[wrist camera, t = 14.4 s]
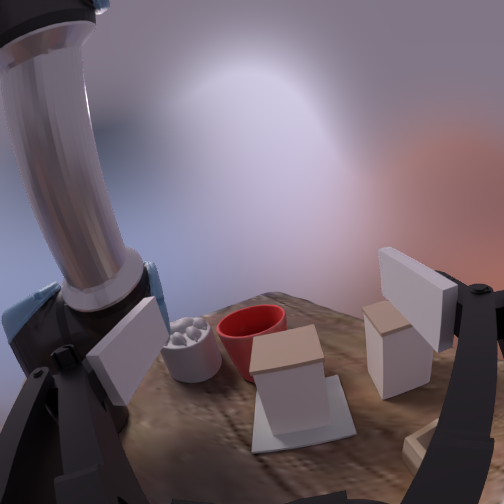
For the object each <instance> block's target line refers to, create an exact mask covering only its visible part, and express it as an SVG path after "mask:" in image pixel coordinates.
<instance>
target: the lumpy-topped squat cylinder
mask: <svg viewBox="0 0 504 504" xmlns="http://www.w3.org/2000/svg"><path fill="white" fill-rule="evenodd" d="M170 328H171V336H170V339H169V340H168V342H166V343H165V344H164V346H163V347H162V349H161V351H160V352H161V355H162V357H163V359H164V361H165V364H166V366H167V368H168V370H169V372H170V374H171V376H172V377H173V378H174V379H175V380H178V381H181V382H185V383H198V382H203V381H206V380H208V379H210V378H211V377H213V376H214V375H215V374H216V373H217V372H218V370H219V369H220V367H221V363H222V357H221V355H220V352H219V349H218V346H217V343H216V340H215V337H214V334H213V331H212V329H211V327H210V325H209V324H208V323H207V322H206V321H205V320H204V319H203V318H188V317H185V318H182V319H179V320H177V321H175V322H171V323H170Z"/></svg>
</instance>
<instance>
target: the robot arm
mask: <svg viewBox="0 0 504 504" xmlns="http://www.w3.org/2000/svg"><path fill="white" fill-rule="evenodd" d="M109 7H110V2H109V0H0V80H1V89H2V96H3V104H4V110H5V115H6V121H7V125H8V130H9V135H10V139H11V143H12V147H13V151H14V155H15V158H16V162H17V165H18V169H19V172H20V175H21V178H22V182H23V185H24V187H25V190H26V193H27V196H28V198H29V201H30V204H31V206H32V209H33V212H34V214H35V217H36V219H37V221H38V224H39V226H40V229H41V231H42V233H43V235H44V238H45V240H46V242H47V244H48V246H49V249H50V251H51V253H52V255H53V257H54V258H55V261H56V263H57V265H58V267H59V268H60V270H61V272H62V274H63V276H64V279H63V282H62V287H61V286H60V285H59V284H58V283H57V282H53V283H51V284H49V285H47V286H45V287H43V288H41V289H40V290H38V291H36V292H34V293H33V294H31V295H29V296H27V297H26V298H24V299H22V300H21V301H19V302H17V303H16V304H14V305H13V306H11V307H10V308H8V309H7V310H5V311H4V313H3V315H2V325H3V328H4V330H5V333H6V336H7V339H8V344H9V345H10V346H11V348H12V350H13V352H14V354H15V356H16V358H17V360H18V362H19V364H20V366H21V368H22V370H23V372H24V373H25V375H26V377H27V380H26V382H25V384H24V386H23V388H22V390H21V392H20V393H19V395H18V397H17V399H16V401H15V403H14V405H13V407H12V409H11V411H10V414H9V416H8V418H7V420H6V422H5V424H4V427H3V429H2V431H1V433H0V504H149V502H148V500H147V498H146V496H145V495H144V493H143V491H142V489H141V487H140V485H139V483H138V481H137V479H136V477H135V475H134V472H133V470H132V468H131V466H130V464H129V461H128V459H127V457H126V454H125V452H124V450H123V447H122V445H121V442H120V439H119V437H118V433H119V432H120V431H121V429H122V428H123V426H124V425H125V423H126V420H127V417H128V409H127V404H128V403H129V401H130V399H131V398H132V396H133V394H134V393H135V391H136V389H137V388H138V386H139V385H140V383H141V381H142V380H143V378H144V376H145V375H146V373H147V372H148V370H149V368H150V367H151V365H152V363H153V362H154V360H155V359H156V357H157V355H158V354H159V352H160V351H161V349H162V347H163V346H164V344H165V343H166V342H168V340H169V339H170V336H171V328H170V322H169V317H168V313H167V308H166V304H165V302H164V296H163V291H162V286H161V282H160V279H159V275H158V271H157V268H156V266H155V264H154V263H153V262H143V261H142V259H141V257H140V255H139V254H138V252H136V251H135V250H133V249H132V248H129V247H125V246H124V243H123V240H122V237H121V234H120V231H119V228H118V225H117V222H116V219H115V216H114V213H113V209H112V206H111V203H110V199H109V196H108V192H107V189H106V185H105V181H104V177H103V174H102V170H101V166H100V162H99V158H98V153H97V149H96V144H95V139H94V135H93V130H92V124H91V119H90V114H89V108H88V102H87V95H86V88H85V81H84V71H83V62H82V47H83V45H84V43H85V42H86V41H87V40H88V39H89V37H90V36H91V35H92V34H93V32H94V31H95V29H96V20H95V19H96V18H95V15H96V14H97V15H99V14H102V13H103V12H104V11H106V10H108V9H109ZM378 253H379V263H380V273H381V286H382V294H383V295H384V296H385V297H386V299H387V300H388V301H389V302H390V303H391V304H392V305H393V306H394V307H395V308H396V309H397V310H398V311H399V312H400V313H401V314H402V315H403V316H404V317H405V318H406V319H407V320H408V321H409V322H410V323H411V325H412V326H413V327H414V328H415V329H416V330H417V331H418V332H419V333H420V334H421V335H422V336H423V337H424V339H425V340H426V341H427V342H428V343H429V344H430V345H431V346H432V347H433V349H434V350H435V351H436V352H437V353H440V352H442V351H444V350H447V349H449V348H451V347H452V345H453V338H454V334H455V335H456V336H457V337H458V338H459V339H458V346H457V351H456V356H455V361H454V366H453V370H452V374H451V379H450V383H449V387H448V390H447V394H446V398H445V401H444V404H443V408H442V411H441V414H440V417H439V420H438V423H437V426H436V429H435V431H434V433H433V436H432V438H431V441H430V443H429V446H428V448H427V451H426V453H425V456H424V458H423V460H422V462H421V465H420V467H419V469H418V471H417V473H416V475H415V477H414V479H413V481H412V483H411V485H410V487H409V489H408V491H407V493H406V495H405V496H404V498H403V500H402V502H401V503H400V504H478V503H479V500H480V497H481V494H482V491H483V488H484V485H485V481H486V478H487V474H488V470H489V467H490V463H491V458H492V454H493V449H494V438H490V432H491V426H492V420H493V413H494V405H495V395H496V382H497V341H498V343H499V346H500V349H501V352H502V355H503V358H504V290H502V291H497V292H493V289H492V288H491V287H490V286H488V285H485V284H472V285H469V286H467V285H465V284H464V283H462V282H460V281H459V280H456V279H455V278H453V277H451V276H450V275H448V274H446V273H445V272H441V271H436V270H435V271H434V270H432V269H430V268H428V267H427V266H425V265H423V264H421V263H420V262H418V261H416V260H414V259H412V258H411V257H409V256H407V255H405V254H403V253H401V252H399V251H398V250H396V249H394V248H392V247H390V246H389V247H385V248H381V249H378ZM171 504H213V503H208V502H193V501H183V500H175V499H172V502H171ZM286 504H388V503H384V502H380V501H374V500H365V499H347V495H346V490H345V491H340V492H336V493H331V494H326V495H321V496H315V497H309V498H302V499H298V500H295V501H292V502H289V503H286Z"/></svg>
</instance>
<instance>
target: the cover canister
mask: <svg viewBox="0 0 504 504" xmlns="http://www.w3.org/2000/svg"><path fill="white" fill-rule="evenodd" d="M323 362H325V360H324V356H323V352H322V349H321V346H320V342H319V339H318V336H317V333H316V329H315V326H314V324H313V325H309V326H304V327H300V328H295V329H291V330H286V331H281V332H276V333H271V334H266V335H261V336H256V337H254V338H253V346H252V354H251V362H250V369H249V373H250V376H253V378H254V381H255V384H256V387H257V390H258V393H259V396H260V399H261V402H262V405H263V408H264V411H265V414H266V417H267V420H268V423H269V426H270V429H271V432H272V434H273V435H278V434H285V433H291V432H297V431H302V430H308V429H313V428H318V427H322V426H327V425H331V418H330V410H329V403H328V395H327V388H326V381H325V375H324V368H323Z"/></svg>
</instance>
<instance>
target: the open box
mask: <svg viewBox="0 0 504 504" xmlns="http://www.w3.org/2000/svg"><path fill="white" fill-rule="evenodd" d="M438 420H439V419H438V418H437V419H436V420H434V421H433V422H431V423H429V424H428V425H426V426H425V427H423V428H421V429H420V430H418V431H416V432H415V433H413V434H411V435H410V436H408V437H406V438H405V441H404V446H403V450H402V455H401V460H402V461H403V463H404V464H405V465H406V467H407V468H408V469H409V471H410V472H411V473H412V475H413V476H414V477H415V475H416V473H417V471H418V469H419V467H420V465H421V462H422V460H423V458H424V456H425V453H426V451H427V448H428V446H429V443H430V441H431V438H432V436H433V433H434V431H435V429H436V426H437V423H438Z"/></svg>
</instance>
